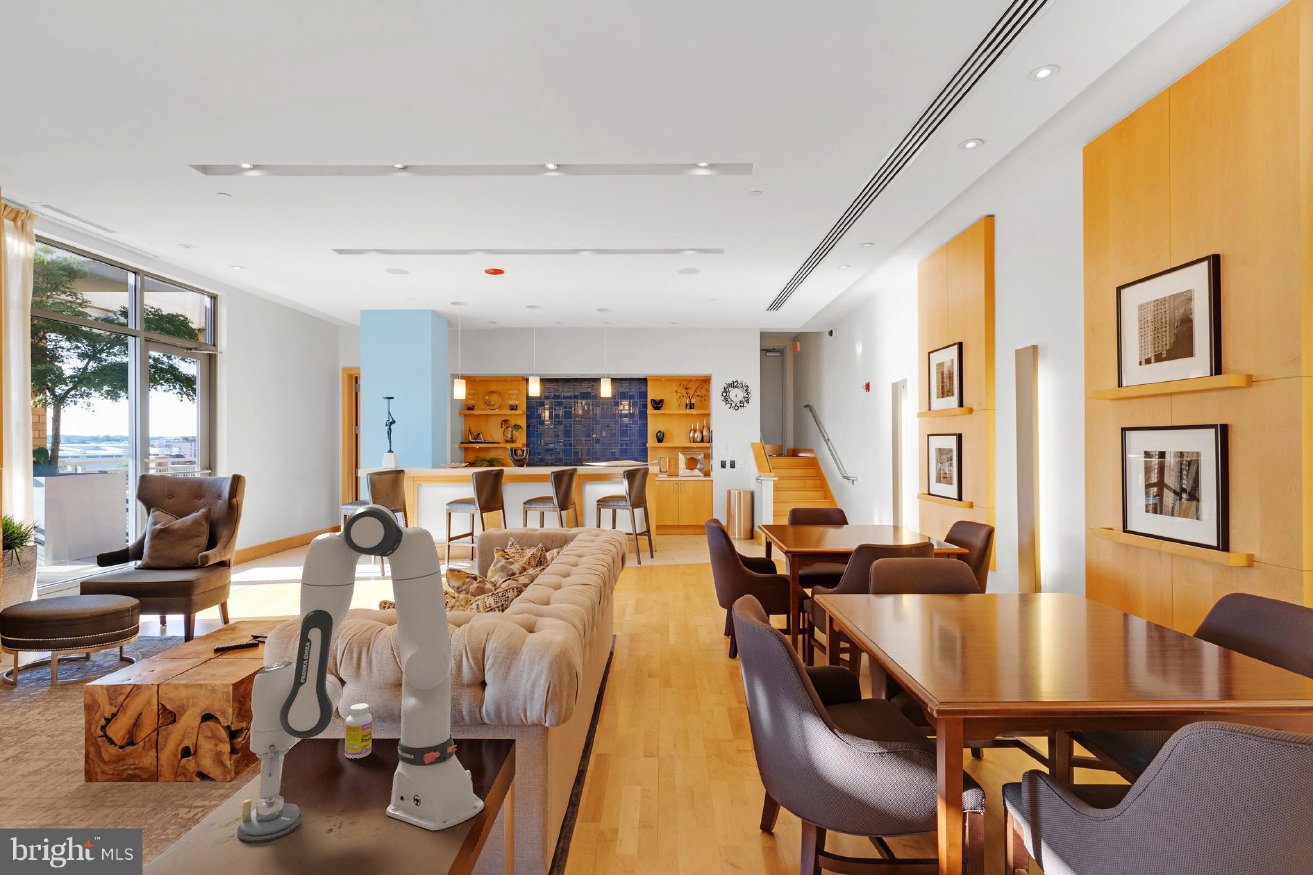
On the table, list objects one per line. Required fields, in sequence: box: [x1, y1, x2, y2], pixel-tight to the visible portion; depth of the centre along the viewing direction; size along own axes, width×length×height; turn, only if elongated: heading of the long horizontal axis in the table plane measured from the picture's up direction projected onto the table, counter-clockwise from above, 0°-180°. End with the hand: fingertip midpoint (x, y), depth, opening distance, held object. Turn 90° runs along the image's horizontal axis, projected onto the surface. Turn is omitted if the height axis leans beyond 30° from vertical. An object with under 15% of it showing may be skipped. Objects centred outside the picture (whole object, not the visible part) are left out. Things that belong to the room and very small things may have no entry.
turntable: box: [239, 799, 300, 835], centre depth 148 cm, size 11×11×5 cm
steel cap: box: [255, 795, 285, 823], centre depth 148 cm, size 5×5×4 cm
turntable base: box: [237, 812, 302, 844], centre depth 148 cm, size 12×12×1 cm
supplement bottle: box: [344, 702, 373, 760], centre depth 186 cm, size 7×7×13 cm
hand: (271, 801), depth 152 cm, fingers closed
